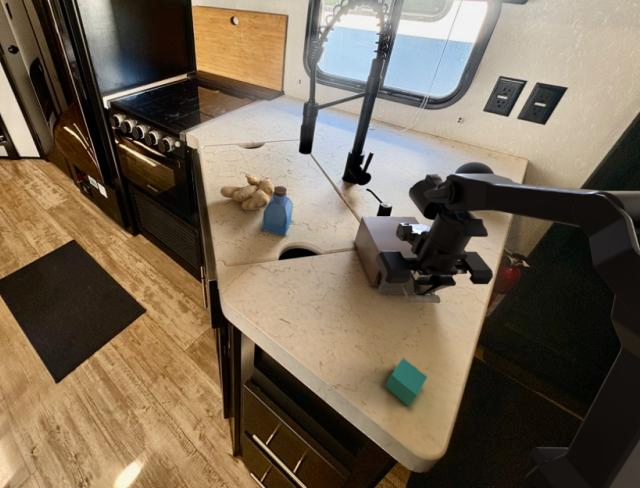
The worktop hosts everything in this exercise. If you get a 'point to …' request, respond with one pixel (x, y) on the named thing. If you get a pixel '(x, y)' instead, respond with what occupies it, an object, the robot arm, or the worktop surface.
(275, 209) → the perfume bottle
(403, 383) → the teal block
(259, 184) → the ginger root
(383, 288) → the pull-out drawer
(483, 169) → the decorative ball
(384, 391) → the worktop surface
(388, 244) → the drawer cabinet
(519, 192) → the robot arm
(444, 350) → the worktop surface
